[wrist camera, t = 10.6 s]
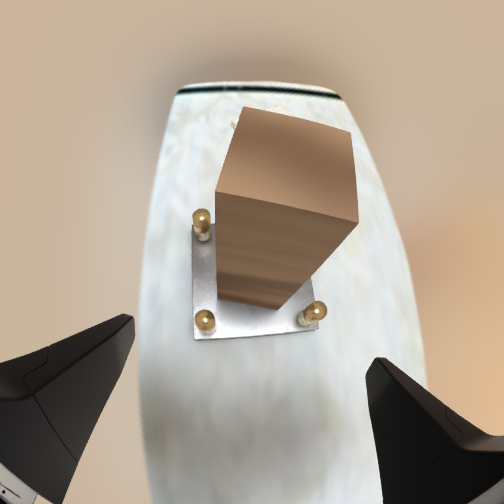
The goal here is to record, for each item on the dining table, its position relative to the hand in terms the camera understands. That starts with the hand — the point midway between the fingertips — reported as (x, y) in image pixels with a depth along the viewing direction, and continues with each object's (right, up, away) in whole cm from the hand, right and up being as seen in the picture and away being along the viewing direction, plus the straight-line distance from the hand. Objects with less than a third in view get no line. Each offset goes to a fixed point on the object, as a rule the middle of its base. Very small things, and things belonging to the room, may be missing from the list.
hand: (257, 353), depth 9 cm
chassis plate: (0, +1, +15) cm, 15 cm away
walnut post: (0, +2, +14) cm, 14 cm away
